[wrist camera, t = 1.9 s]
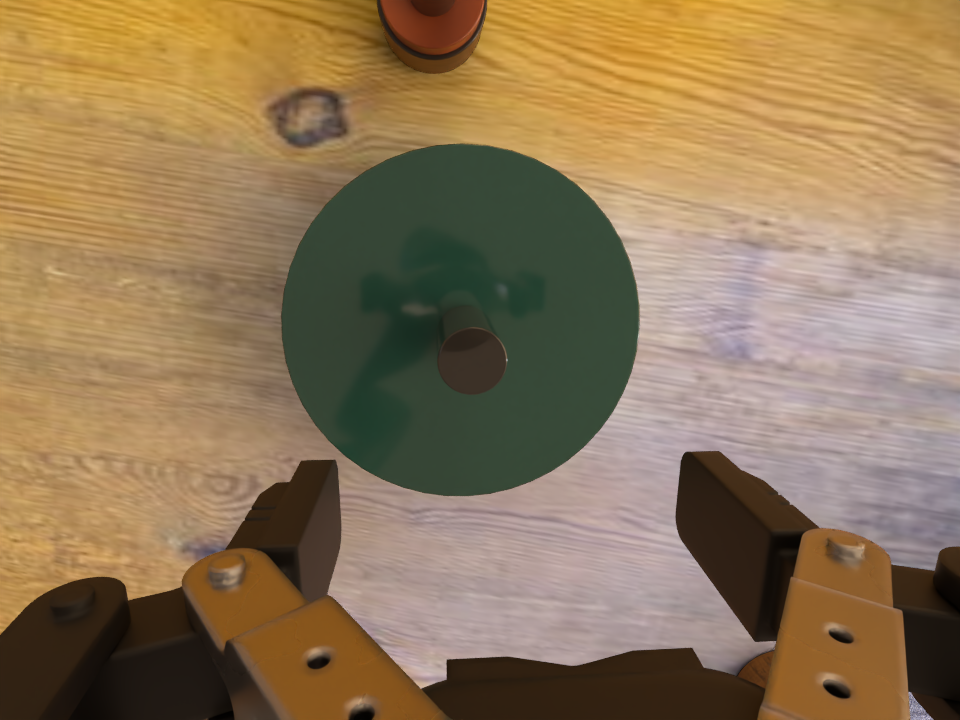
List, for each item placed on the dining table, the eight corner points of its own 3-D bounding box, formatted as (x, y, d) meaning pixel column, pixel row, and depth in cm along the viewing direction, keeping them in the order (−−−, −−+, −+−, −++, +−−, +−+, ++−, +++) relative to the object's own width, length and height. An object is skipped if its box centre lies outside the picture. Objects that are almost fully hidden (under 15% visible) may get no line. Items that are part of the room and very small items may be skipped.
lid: (303, 492, 29) (269, 567, 23) (270, 146, 25) (218, 127, 19) (622, 477, 30) (670, 544, 24) (641, 145, 26) (704, 127, 20)
